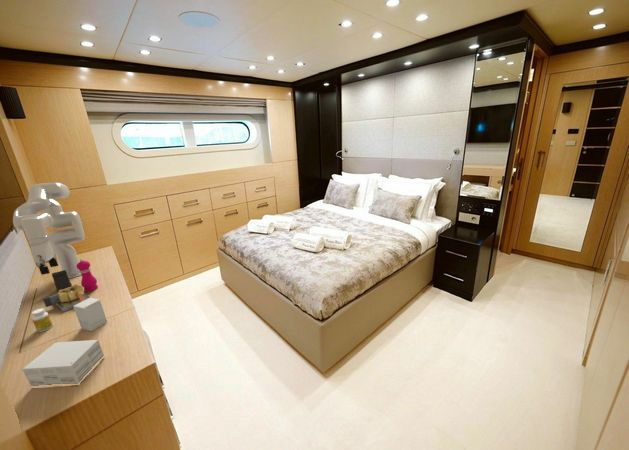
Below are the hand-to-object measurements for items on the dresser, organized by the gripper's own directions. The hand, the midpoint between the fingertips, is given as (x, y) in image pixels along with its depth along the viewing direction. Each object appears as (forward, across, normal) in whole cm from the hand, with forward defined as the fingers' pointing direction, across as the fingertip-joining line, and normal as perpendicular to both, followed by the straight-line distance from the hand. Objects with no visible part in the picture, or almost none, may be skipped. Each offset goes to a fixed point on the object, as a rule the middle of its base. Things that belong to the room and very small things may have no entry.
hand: (50, 270), depth 140 cm
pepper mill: (+20, -8, +11) cm, 24 cm away
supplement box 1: (+20, +64, +25) cm, 72 cm away
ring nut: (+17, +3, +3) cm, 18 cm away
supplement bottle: (+20, +26, +3) cm, 33 cm away
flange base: (+19, +3, +6) cm, 21 cm away
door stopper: (+20, -16, -4) cm, 25 cm away
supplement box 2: (+20, +34, +24) cm, 46 cm away
